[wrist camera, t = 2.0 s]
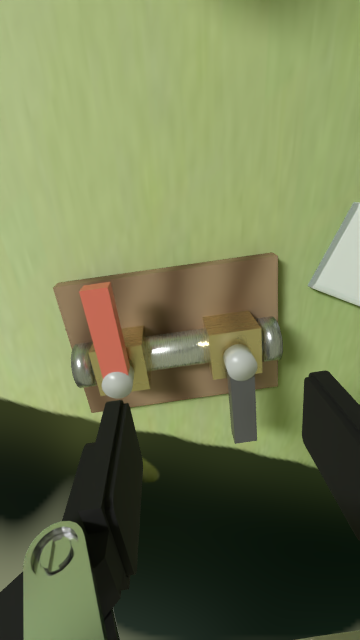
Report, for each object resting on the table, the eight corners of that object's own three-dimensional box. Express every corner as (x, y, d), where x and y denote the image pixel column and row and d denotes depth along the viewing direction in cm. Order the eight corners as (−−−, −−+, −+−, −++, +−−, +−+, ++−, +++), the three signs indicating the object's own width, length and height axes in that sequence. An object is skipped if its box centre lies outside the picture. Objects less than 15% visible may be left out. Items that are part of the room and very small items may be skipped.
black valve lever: (222, 346, 25) (226, 357, 24) (250, 342, 25) (257, 353, 24) (229, 431, 29) (233, 445, 27) (254, 427, 29) (259, 441, 28)
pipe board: (272, 252, 28) (277, 255, 27) (273, 378, 34) (277, 386, 33) (58, 282, 28) (52, 287, 27) (94, 403, 34) (91, 412, 33)
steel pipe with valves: (267, 307, 29) (283, 325, 25) (267, 348, 31) (282, 370, 27) (78, 334, 29) (66, 355, 25) (89, 373, 31) (80, 398, 27)
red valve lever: (136, 383, 26) (135, 396, 25) (108, 387, 26) (105, 400, 25) (113, 280, 23) (110, 287, 21) (81, 285, 23) (75, 292, 21)
